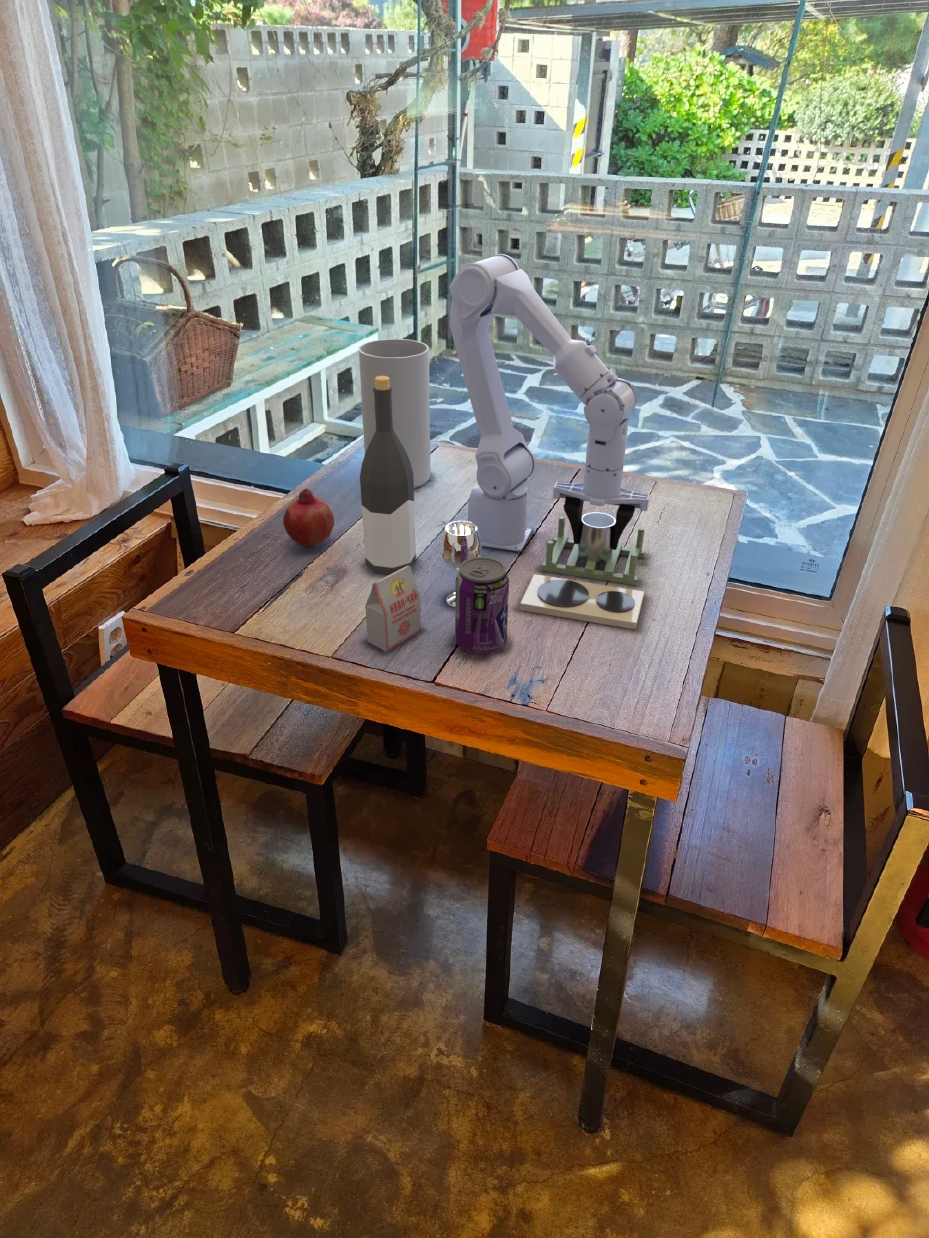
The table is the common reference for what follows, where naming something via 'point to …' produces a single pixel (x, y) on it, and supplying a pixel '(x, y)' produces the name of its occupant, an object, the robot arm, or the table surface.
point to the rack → (589, 571)
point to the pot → (596, 536)
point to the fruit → (308, 520)
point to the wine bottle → (387, 493)
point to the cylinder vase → (400, 396)
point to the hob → (583, 601)
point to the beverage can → (481, 605)
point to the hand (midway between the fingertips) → (595, 544)
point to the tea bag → (393, 610)
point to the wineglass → (460, 546)
